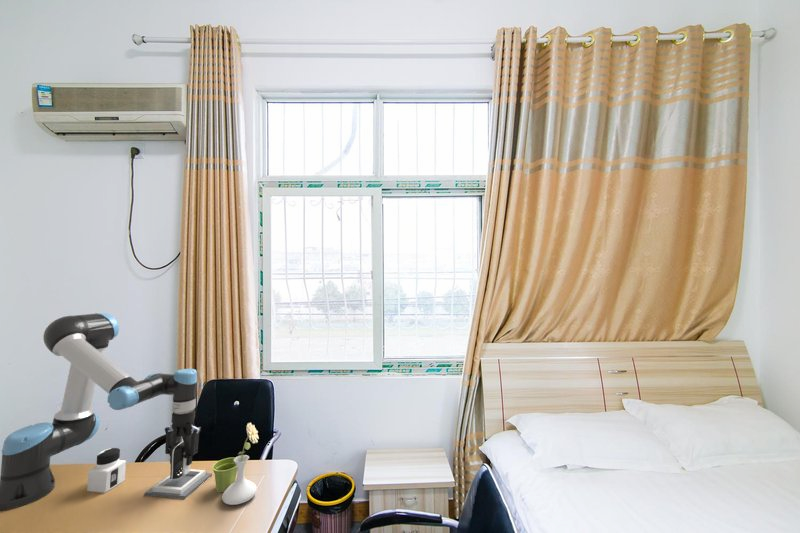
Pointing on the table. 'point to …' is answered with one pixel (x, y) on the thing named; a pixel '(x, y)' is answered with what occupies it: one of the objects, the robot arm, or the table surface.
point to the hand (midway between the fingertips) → (180, 472)
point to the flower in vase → (242, 475)
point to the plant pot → (224, 473)
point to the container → (106, 471)
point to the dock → (179, 485)
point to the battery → (177, 460)
